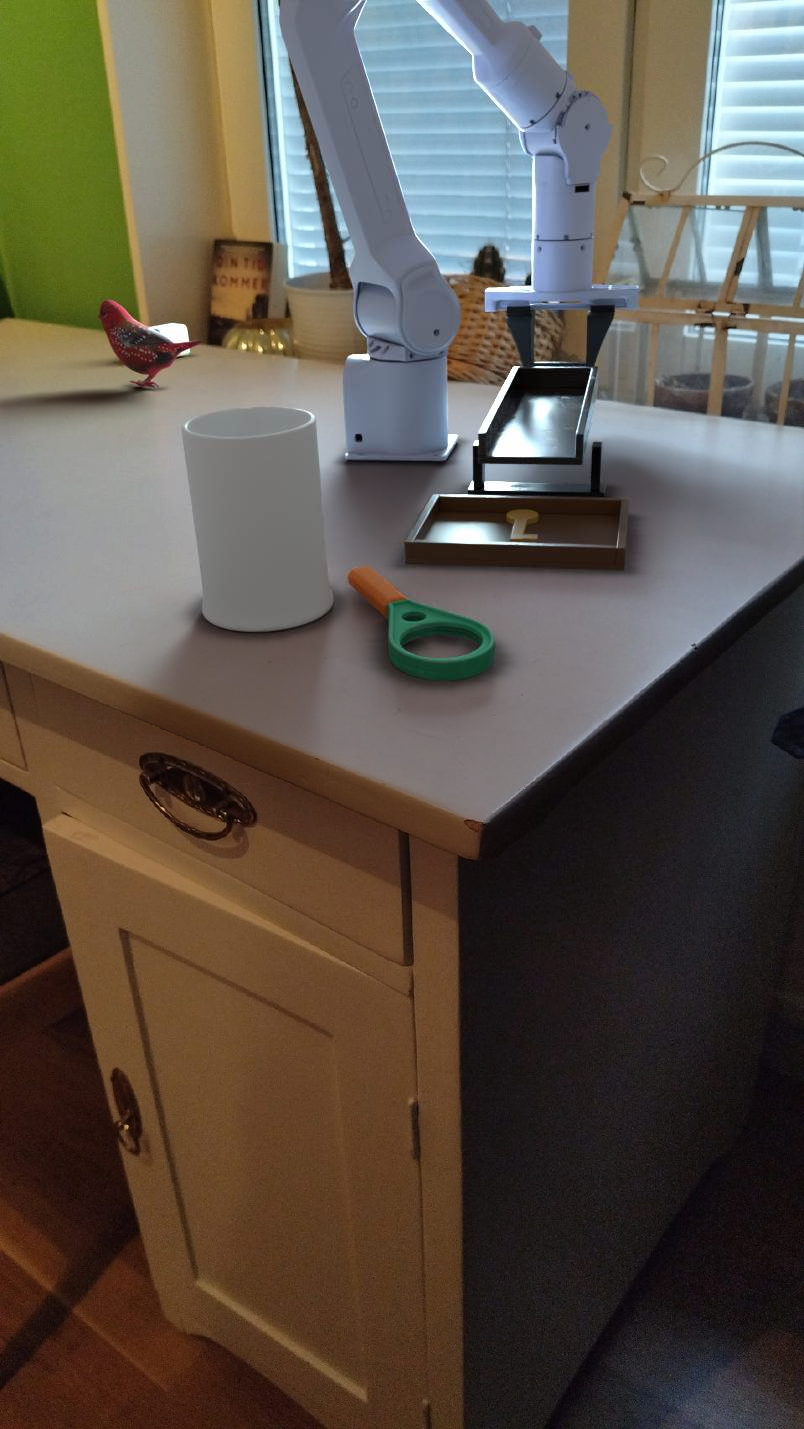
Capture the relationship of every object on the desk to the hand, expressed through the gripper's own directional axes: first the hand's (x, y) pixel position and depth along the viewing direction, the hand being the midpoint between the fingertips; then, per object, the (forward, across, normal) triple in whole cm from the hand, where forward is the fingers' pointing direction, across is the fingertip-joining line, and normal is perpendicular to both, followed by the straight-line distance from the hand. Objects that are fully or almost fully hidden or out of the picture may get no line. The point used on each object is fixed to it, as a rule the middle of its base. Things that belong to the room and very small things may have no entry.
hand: (559, 386), depth 109 cm
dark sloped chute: (0, 0, +14) cm, 14 cm away
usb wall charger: (+1, +57, -35) cm, 67 cm away
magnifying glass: (+4, +5, +52) cm, 52 cm away
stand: (+4, 0, +23) cm, 23 cm away
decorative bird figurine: (+4, +50, -16) cm, 53 cm away
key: (+3, 0, +34) cm, 34 cm away
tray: (+4, 0, +35) cm, 35 cm away
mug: (+4, +16, +48) cm, 51 cm away
